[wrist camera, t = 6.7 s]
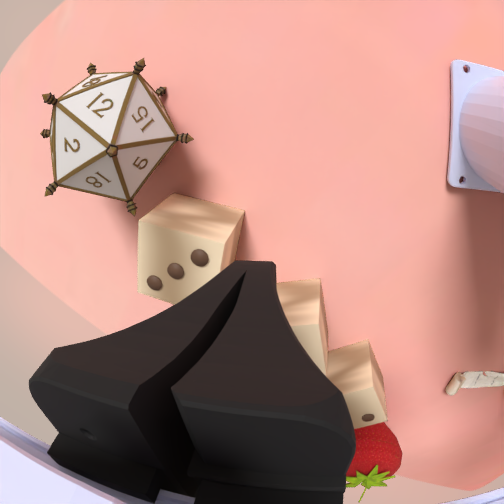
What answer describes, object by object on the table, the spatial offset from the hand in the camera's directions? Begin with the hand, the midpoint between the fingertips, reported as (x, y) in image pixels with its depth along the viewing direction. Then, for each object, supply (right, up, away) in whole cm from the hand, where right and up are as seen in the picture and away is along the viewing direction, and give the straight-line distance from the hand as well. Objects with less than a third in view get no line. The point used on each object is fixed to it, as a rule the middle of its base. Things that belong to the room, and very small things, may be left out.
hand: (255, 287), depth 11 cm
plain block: (+3, -3, +13) cm, 14 cm away
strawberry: (+12, -15, +18) cm, 26 cm away
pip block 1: (-3, +2, +12) cm, 12 cm away
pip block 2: (+8, -9, +15) cm, 19 cm away
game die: (-7, +10, +9) cm, 15 cm away
